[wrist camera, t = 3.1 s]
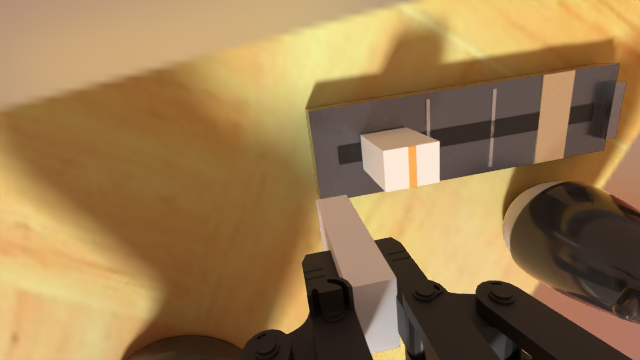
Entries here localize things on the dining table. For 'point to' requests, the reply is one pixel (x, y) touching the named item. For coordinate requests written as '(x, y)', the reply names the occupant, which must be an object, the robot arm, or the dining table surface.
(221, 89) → the dining table surface
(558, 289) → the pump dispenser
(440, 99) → the console
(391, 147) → the fader knob
